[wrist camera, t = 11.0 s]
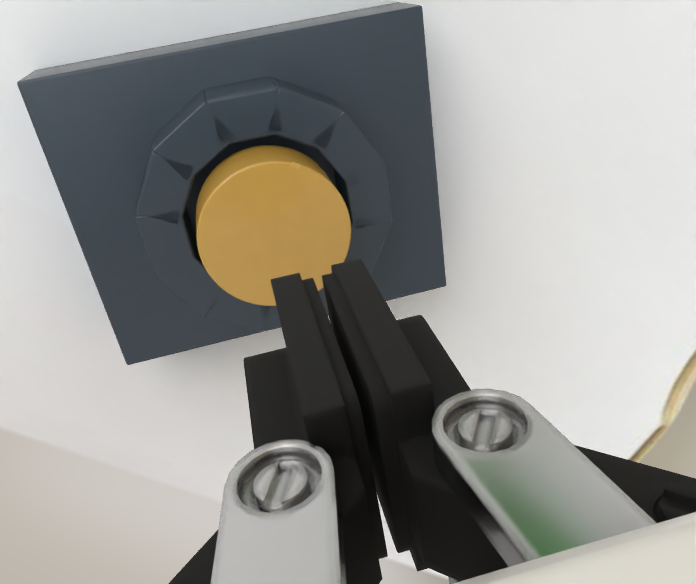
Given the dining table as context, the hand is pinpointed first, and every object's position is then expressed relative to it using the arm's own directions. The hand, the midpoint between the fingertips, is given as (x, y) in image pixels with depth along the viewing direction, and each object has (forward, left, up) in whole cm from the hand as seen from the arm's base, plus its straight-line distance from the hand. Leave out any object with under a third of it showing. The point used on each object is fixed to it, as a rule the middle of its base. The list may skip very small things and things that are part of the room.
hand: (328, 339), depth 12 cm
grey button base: (0, 0, -11) cm, 11 cm away
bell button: (0, 0, -7) cm, 7 cm away
